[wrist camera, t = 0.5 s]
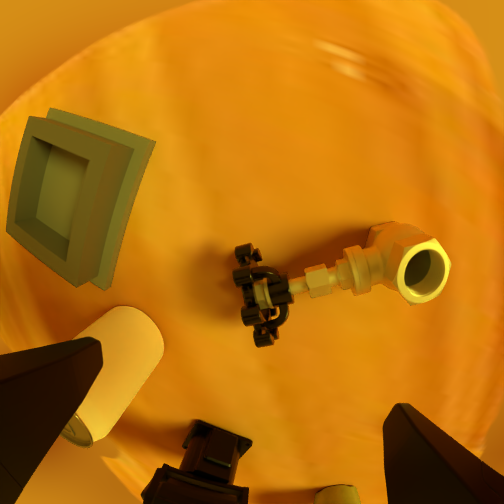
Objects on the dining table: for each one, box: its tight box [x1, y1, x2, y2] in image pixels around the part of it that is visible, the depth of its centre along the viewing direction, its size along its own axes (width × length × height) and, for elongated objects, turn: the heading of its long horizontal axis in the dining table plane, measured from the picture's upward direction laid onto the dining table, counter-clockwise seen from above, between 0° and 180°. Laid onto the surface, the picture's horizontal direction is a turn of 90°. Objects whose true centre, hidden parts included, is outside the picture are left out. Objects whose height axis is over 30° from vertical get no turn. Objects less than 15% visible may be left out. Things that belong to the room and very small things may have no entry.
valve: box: [232, 221, 451, 348], centre depth 16 cm, size 7×7×12 cm
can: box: [60, 306, 164, 448], centre depth 18 cm, size 6×6×12 cm
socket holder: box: [6, 108, 156, 291], centre depth 19 cm, size 13×13×4 cm
